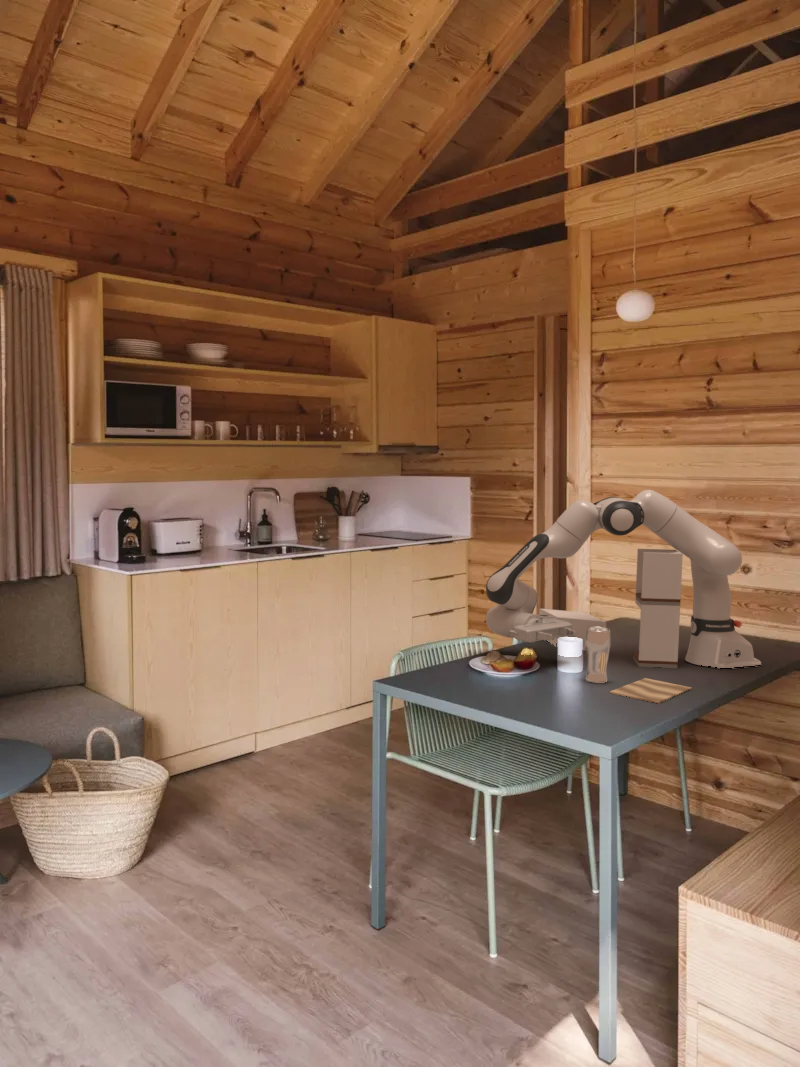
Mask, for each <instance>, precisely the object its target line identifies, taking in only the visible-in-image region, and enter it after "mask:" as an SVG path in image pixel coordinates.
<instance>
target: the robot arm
mask: <svg viewBox="0 0 800 1067" xmlns="http://www.w3.org/2000/svg"><path fill="white" fill-rule="evenodd" d="M641 525H642V526H644V527H645V528H647V529H648V530H650V531H651V532H652V533H654V535H656V536H657V537H659V538H660V539H661V540H663V541H664V542H666V543H667V544H668V545H670V546H671V547H672V548H673V549H674V550H677V551H679V552H681V553H682V554H683V555H684V556H685V557H687V558H689V560H690V570H691V571H690V572H691V578H692V580H691V581H692V587H693V598H692V599H693V600H692V615H691V617H690V626H689V628H690V639H689V645H688V649H687V653H686V655H685V657H684V660H685V661H686V662H688V663H690V664H693V665H697V666H701V665H702V667H708V666H711V667H710V668H715V667H717V668H716V669H720V668H732V669H735V668H734V667H743V666H755V665H761V666H762V661H761V660H760V659H758V658H756V657H755V656H754V655H755V654H754V649H753V648H754V647H753V644H752V643H751V642H750V641H748V640H747V639H746V638H745V637H744V636H742V635H741V634H740V633H739V632H738V631H737V630H736V628H742V626H743V622H742V621H740V620H738V619H737V620H734V619H733V618H731V607H732V606H731V605H732V592H731V589H730V585H729V578H728V576H731V575H734V574H735V573H736V572H738V570H739V569H740V568H741V566H742V563H743V557H742V552H741V551H740V549H739V548H738V547H737V546H736V545H735V544H733V543H732V542H731V541H730V540H728V538H727V539H726V538H725V537H724V536H722V535H721V534H720V533H718V532H716V531H715V530H714V529H712V528H710V527H709V526H707V525H706V524H704V523H702V522H701V521H699V520H698V519H696V517H694V516H693V515H691V514H690V513H689V512H687V511H686V510H684V509H683V508H682V507H681V506H680V505H678V504H677V503H675V502H674V500H673V501H672V499H670V498H668V497H666V496H665V495H663V494H661V493H659V492H658V491H655V490H653V489H644V490H642V491H640V492H639V493H638V494H637V495H636V496H635V497H634V498H633V499H631V500H626V499H624V498H621V497H618V496H609V497H605V498H603V499H600V500H598V501H596V502H591V501H589V500H587V499H577V500H575V501H574V502H573V503H571V504H570V505H569V506H568V507H567V508H566V509H565V510H564V511H563V512H562V513H561V515H560V516H559V517H557V519H556V521H555V522H554V523H553V524H552V525H551V526H550V527H549V528H548V529H546V530H545V531H544V532H542V533H538V534H537V535H535V536H533V537H532V538H531V539H529V541H527V542H526V543H525V544H524V545H523V546H522V547H521V548H520V549H519V550H518V551H517V552H516V553H515V554H514V555H513V556H512V557H511V558H510V559H509V560H508V561H507V562H506V563H505V564H504V565H503V566H502V567H500V568H498V570H497V571H495V572H494V573H492V574H491V575H490V576H489V578H488V579H487V581H486V584H485V594H486V597H487V599H488V600H489V601H491V602H493V603H496V605H495V606H493V607H491V608H490V609H489V610H488V611H487V612H486V617H485V621H486V622H485V623H486V625H487V628H489V630H490V631H491V632H493V633H494V634H496V635H500V636H503V637H506V638H509V639H510V638H514V639H515V640H517V641H521V642H525V643H529V644H531V643H535V642H538V641H545V640H549V641H552V640H554V638H558V637H564V636H568V637H575V636H576V632H575V631H573V630H572V624H571V623H569V622H566V621H562V620H559V619H554V618H551V616H549V615H539V614H536V613H534V610H535V609H536V605H537V603H538V594H537V593H538V592H537V591H536V589H535V588H533V587H532V586H530V585H529V584H527V583H526V582H524V581H522V580H520V577H521V576H522V575H523V574H524V573H525V572H526V571H527V570H528V569H529V568H531V566H532V565H533V564H534V563H536V562H537V561H539V560H541V559H544V558H554V559H567V558H571V557H572V556H574V555H576V553H578V552H579V550H580V549H581V548H582V547H583V546H584V544H585V543H586V541H587V540H588V539H589V538H590V536H591V535H592V534H593V533H595V532H596V531H598V530H601V529H602V530H604V531H606V532H608V533H609V534H611V535H614V536H618V537H620V536H625V535H629V534H630V533H632V532H633V531H635V529H637V528H639V527H640V526H641ZM735 627H736V628H735ZM755 667H756V666H755Z"/></svg>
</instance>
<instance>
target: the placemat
mask: <svg viewBox="0 0 800 1067" xmlns="http://www.w3.org/2000/svg"><path fill="white" fill-rule="evenodd" d="M688 690H689V691H691V690H693V687H691V686H686V685H681V684H678V683H677V684H676V683H671V682H666V681H662V680H658V679H657V680H656V679H651V678H647V677H644V678H642V679H639V680H637V681H633V682H631V683H628V684H626V685H622V686H620V687H618V688H615V689H613V690H610V691H609V694H611V693H612V694H611V695H616V696H620V695H621V696H622V697H625V698H629V697H630V699H634V700H638V699H639V701H643V700H644V701H645V702H647V701H648V703H652V702H654V703H653V704H656V703H658V704H657V705H660V704H662V703H664V702H666V701H669V700H671V699H673V698H675V697H678V696H680V695H682V694H684V692H685V693H687V692H689V691H688ZM686 691H687V692H686ZM681 693H682V694H681ZM679 694H680V695H679ZM677 695H678V696H677ZM626 696H627V697H626ZM674 696H675V697H674ZM672 697H673V698H672ZM670 698H671V699H670ZM668 699H669V700H668ZM665 700H666V701H665ZM644 701H643V702H644ZM661 702H662V703H661Z"/></svg>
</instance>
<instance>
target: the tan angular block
mask: <svg viewBox="0 0 800 1067" xmlns="http://www.w3.org/2000/svg"><path fill="white" fill-rule="evenodd" d="M538 615H549V616H551V618H554V619H559V620H562V621H566V622H569V623H571V624H572V630H573V631H575V632H576V636H575V637H578V638H582V639H583V647H584V650H583V651H586V650H585V639H586V631H587V627H605V628H607V621H605V620H603V619H601V618H598V617H596V616H594V615H592V614H590V613H587V612H582V611H572V610H561V609H551V608H550V609H549V608H539V614H538ZM557 639H558V638H554V640H552V641H549V640H547V641H548V642H550V643H551V644H550V643H549V644H550V645H552V644H553V645H554V646H553V645H552V646H553V647H555V648H557V647H556V643H557ZM548 642H547V643H548Z"/></svg>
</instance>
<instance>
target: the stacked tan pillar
mask: <svg viewBox="0 0 800 1067" xmlns="http://www.w3.org/2000/svg"><path fill="white" fill-rule="evenodd" d="M683 555H684V554H682V553H681V552H679V551H678V550H676V549H665V548H664V549H662V548H660V549H659V548H656V549H655V548H637V556H636V557H637V558H636V579H635V580H636V584H635V602H634V603H635V604H636V606H637V607H638V608H640V614H639V615H640V620H639V623H640V624H639V638H638V640H639V642H638V652H633V653H632V654H633V655H632V660H633V661H634V662H635V664H636V663H637V664H636V665H637V667H638V666H639V667H638V668H653V667H662V668H661V669H678V662H679V661H678V659H679V643H680V641H679V639H680V619H681V618H680V617H681V600H682V599H681V598H682V576H683V575H682V574H683V558H684V557H683Z"/></svg>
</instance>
